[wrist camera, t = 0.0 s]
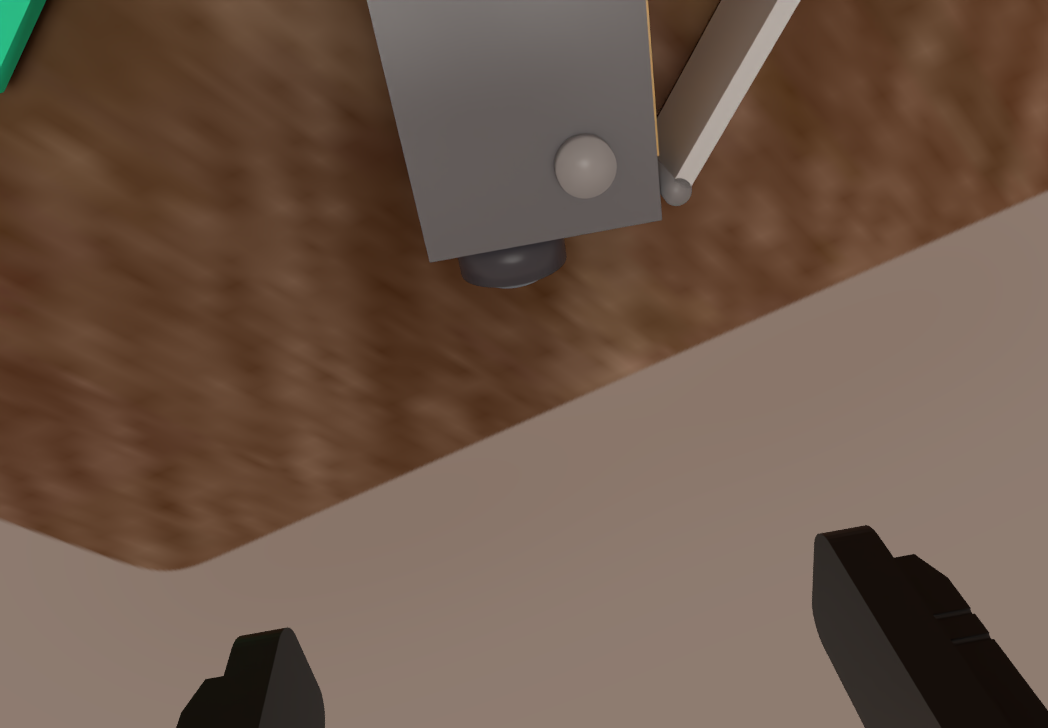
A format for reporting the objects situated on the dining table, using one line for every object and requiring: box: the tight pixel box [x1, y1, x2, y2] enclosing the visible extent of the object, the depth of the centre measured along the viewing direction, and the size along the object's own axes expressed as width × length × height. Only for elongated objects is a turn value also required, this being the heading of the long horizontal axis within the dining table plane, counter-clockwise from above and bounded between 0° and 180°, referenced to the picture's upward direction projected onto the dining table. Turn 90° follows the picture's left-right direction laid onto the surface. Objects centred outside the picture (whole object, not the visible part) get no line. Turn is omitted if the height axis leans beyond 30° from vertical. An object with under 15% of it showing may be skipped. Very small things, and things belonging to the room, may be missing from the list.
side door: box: [657, 0, 800, 206], centre depth 33 cm, size 14×2×6 cm, turn 154°
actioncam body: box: [367, 0, 662, 288], centre depth 32 cm, size 21×10×7 cm, turn 9°
